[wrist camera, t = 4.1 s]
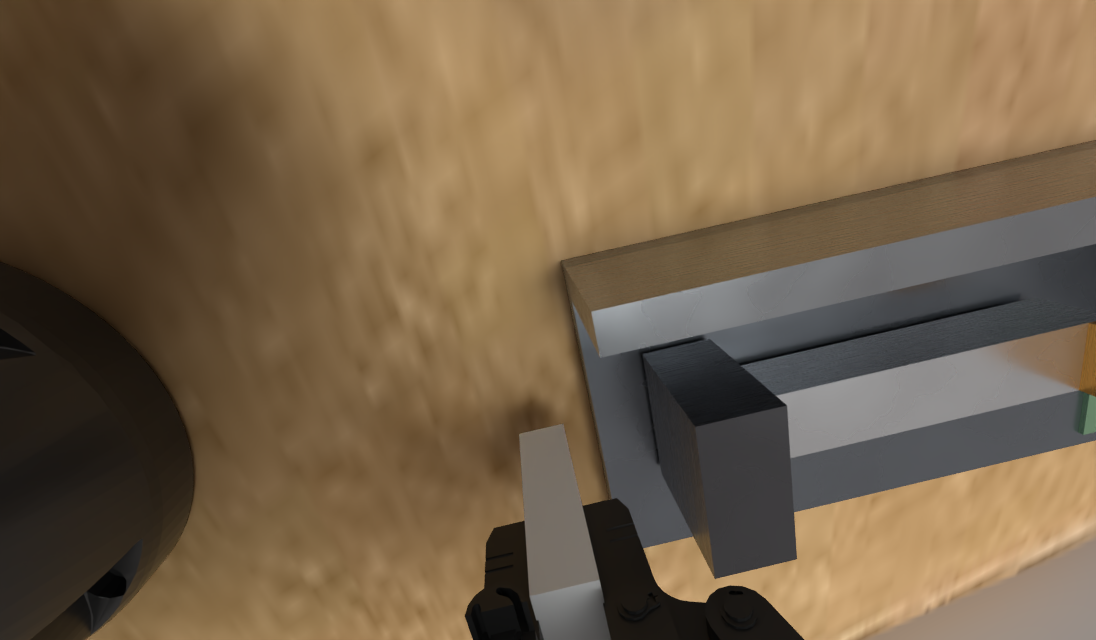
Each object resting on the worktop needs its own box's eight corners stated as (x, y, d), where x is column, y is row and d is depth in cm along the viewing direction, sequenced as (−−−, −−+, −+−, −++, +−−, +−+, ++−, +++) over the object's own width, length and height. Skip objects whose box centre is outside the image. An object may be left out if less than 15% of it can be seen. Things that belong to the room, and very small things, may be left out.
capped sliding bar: (661, 473, 19) (723, 596, 14) (642, 354, 18) (704, 439, 12) (1026, 388, 19) (1224, 475, 14) (1040, 262, 18) (1269, 307, 12)
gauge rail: (616, 532, 22) (670, 705, 15) (561, 261, 18) (598, 325, 11) (1173, 399, 22) (1474, 508, 15) (1235, 108, 18) (1672, 79, 11)
